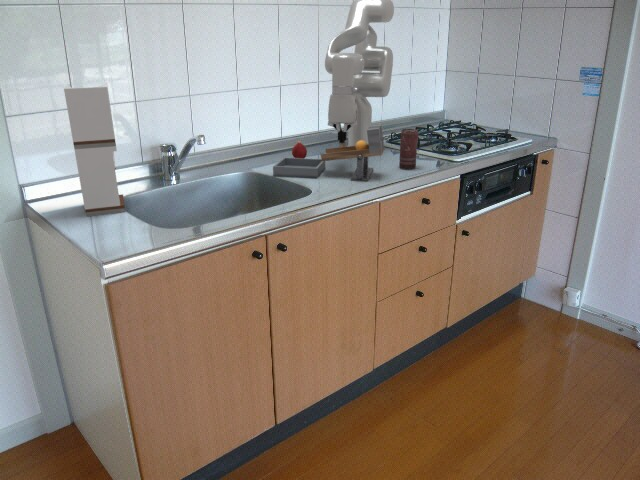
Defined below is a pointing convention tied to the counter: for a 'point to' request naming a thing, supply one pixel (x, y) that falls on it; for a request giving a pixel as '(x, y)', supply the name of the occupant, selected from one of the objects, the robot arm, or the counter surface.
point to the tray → (299, 167)
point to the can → (408, 149)
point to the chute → (343, 152)
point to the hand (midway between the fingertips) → (342, 142)
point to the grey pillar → (94, 148)
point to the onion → (299, 151)
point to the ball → (361, 145)
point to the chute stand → (362, 170)
